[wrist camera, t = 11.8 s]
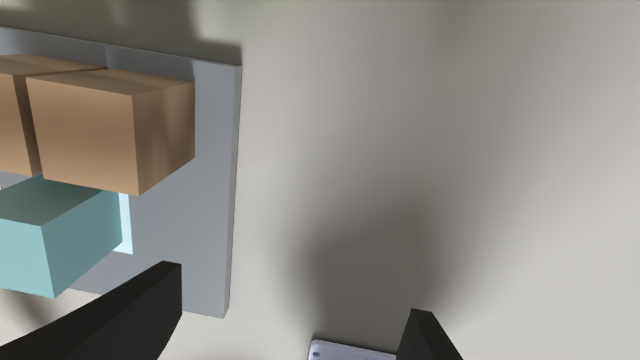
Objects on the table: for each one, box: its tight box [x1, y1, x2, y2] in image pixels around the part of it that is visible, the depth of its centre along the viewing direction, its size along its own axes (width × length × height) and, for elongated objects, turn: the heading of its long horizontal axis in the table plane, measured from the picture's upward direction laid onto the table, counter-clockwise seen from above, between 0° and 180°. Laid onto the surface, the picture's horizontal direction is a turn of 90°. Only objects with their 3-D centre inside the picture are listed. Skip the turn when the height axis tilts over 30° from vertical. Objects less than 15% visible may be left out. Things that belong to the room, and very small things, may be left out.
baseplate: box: [0, 26, 242, 319], centre depth 20 cm, size 16×14×1 cm
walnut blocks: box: [0, 54, 195, 196], centre depth 15 cm, size 4×8×5 cm, turn 82°
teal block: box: [0, 173, 123, 299], centre depth 18 cm, size 4×4×5 cm
